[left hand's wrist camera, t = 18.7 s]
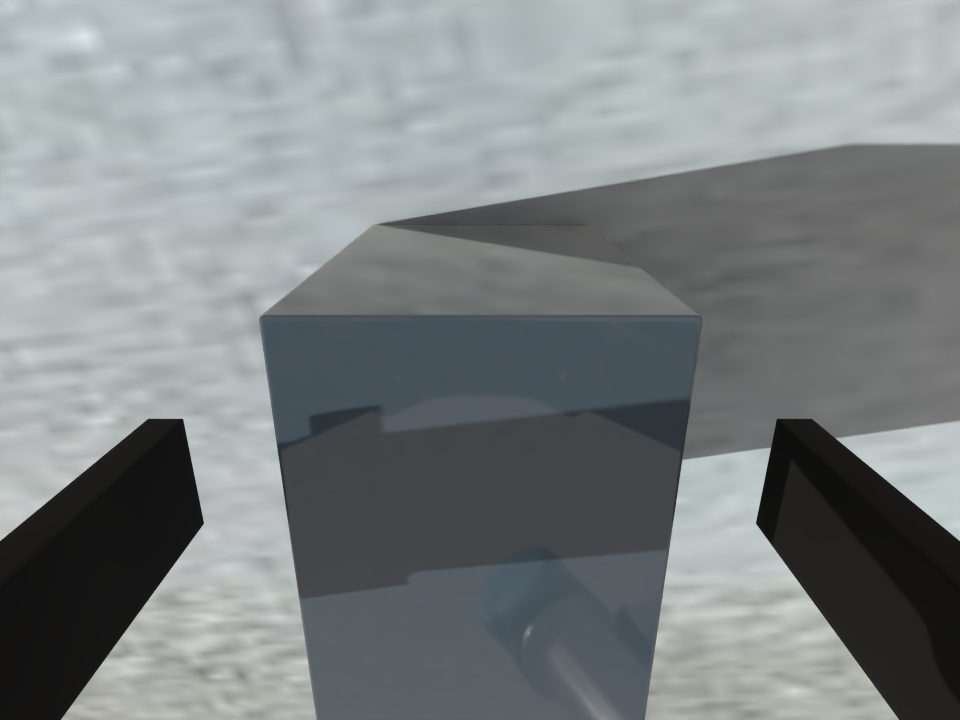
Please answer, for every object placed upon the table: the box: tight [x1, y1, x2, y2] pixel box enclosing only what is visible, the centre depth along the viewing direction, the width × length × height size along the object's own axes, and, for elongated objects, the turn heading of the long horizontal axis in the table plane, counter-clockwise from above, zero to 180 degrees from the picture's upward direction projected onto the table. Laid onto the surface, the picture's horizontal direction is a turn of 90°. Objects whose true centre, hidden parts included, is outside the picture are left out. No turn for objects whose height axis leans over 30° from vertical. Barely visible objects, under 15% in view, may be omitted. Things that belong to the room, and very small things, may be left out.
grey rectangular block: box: [259, 225, 702, 720], centre depth 15 cm, size 7×9×10 cm
